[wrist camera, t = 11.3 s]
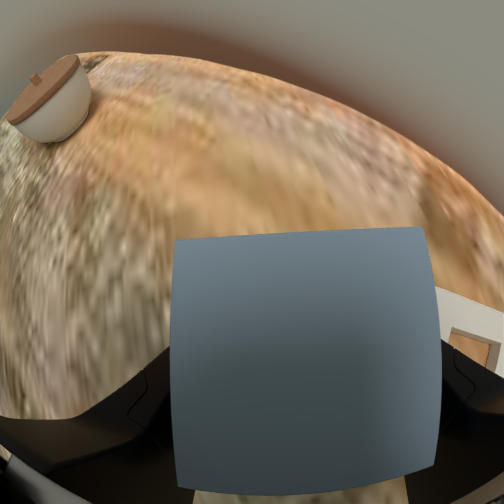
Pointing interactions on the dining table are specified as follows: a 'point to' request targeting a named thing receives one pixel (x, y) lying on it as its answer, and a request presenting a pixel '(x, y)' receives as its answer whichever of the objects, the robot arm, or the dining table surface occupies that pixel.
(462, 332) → the pocket holder
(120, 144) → the dining table surface
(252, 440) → the slate-blue block
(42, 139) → the lidded bowl
